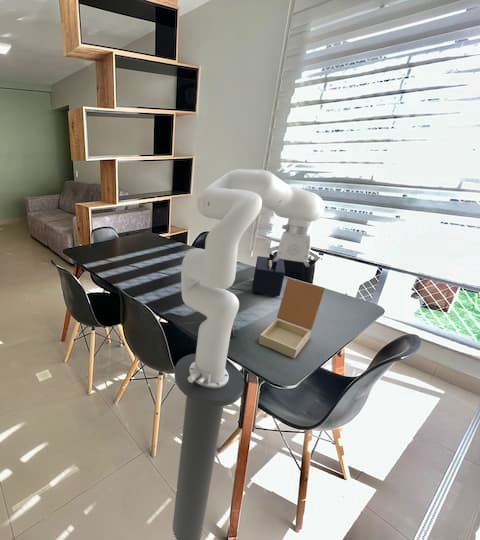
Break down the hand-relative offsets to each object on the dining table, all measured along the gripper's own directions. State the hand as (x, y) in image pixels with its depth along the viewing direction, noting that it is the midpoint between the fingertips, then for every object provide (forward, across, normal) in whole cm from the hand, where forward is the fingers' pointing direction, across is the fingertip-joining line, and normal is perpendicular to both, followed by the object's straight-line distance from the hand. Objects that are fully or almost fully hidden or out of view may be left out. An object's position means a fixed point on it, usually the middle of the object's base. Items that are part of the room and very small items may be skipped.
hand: (288, 273), depth 111 cm
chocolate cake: (+25, -18, -14) cm, 33 cm away
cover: (+12, +6, 0) cm, 13 cm away
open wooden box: (+24, +4, -9) cm, 26 cm away
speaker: (+25, -8, +39) cm, 47 cm away
